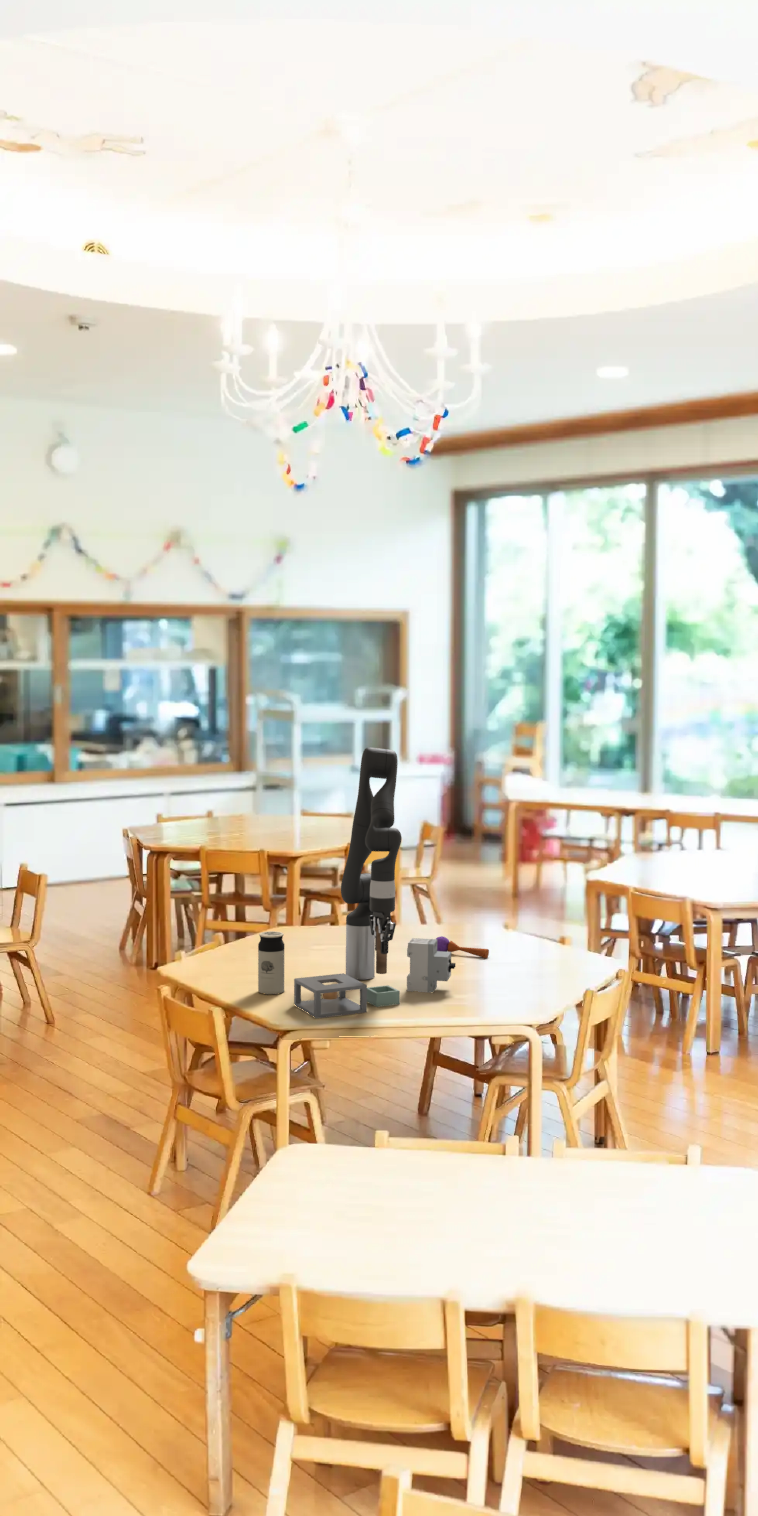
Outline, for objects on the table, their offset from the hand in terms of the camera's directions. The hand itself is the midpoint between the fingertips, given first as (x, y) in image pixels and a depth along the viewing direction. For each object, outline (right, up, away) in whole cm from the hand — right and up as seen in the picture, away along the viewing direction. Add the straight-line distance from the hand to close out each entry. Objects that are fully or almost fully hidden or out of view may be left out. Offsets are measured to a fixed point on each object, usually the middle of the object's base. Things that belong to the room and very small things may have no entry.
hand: (381, 952), depth 403 cm
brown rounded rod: (0, -6, +1) cm, 6 cm away
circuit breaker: (+16, -14, +18) cm, 27 cm away
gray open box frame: (-15, -16, -6) cm, 23 cm away
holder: (0, -15, +1) cm, 15 cm away
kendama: (+27, -11, +67) cm, 73 cm away
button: (-15, -12, -7) cm, 21 cm away
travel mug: (-34, -14, +13) cm, 39 cm away
